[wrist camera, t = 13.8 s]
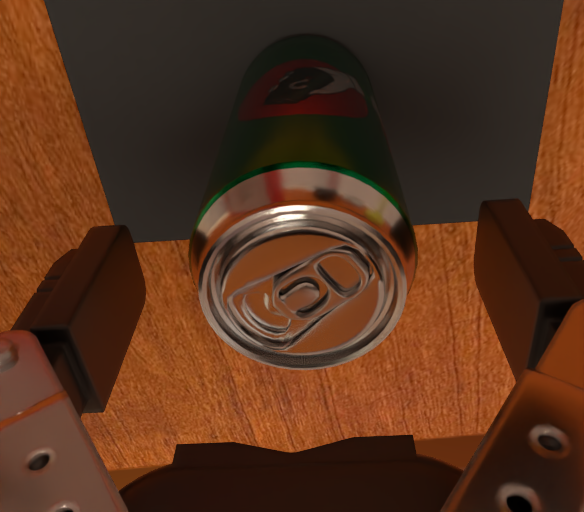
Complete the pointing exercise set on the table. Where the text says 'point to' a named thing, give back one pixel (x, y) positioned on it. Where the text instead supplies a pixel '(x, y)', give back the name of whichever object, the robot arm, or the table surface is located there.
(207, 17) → the rubber mat
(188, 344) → the table surface
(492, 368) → the table surface
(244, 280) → the soda can
